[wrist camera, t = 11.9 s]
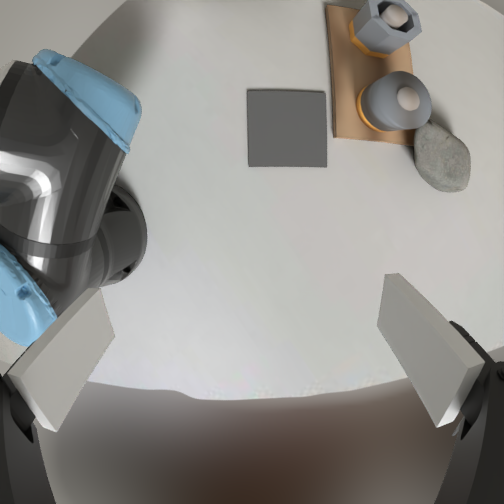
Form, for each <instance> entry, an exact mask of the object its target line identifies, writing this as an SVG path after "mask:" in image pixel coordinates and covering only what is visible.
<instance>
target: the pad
mask: <svg viewBox="0 0 504 504" xmlns="http://www.w3.org/2000/svg"><path fill="white" fill-rule="evenodd" d="M247 99H248V147H249V167H327V118H326V93H316V92H298V91H247Z"/></svg>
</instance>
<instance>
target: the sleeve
mask: <svg viewBox="0 0 504 504" xmlns="http://www.w3.org/2000/svg"><path fill="white" fill-rule="evenodd" d="M390 5H397V6H399V7H401V8H402V9H404V11H405V12H406V13H407V15H408V20H407V21H406V22H405V23H404V24H403V25H401V26H400V27H399V28H397V29H396V30H394V29H391V28H390V27H389V26H388V25H387V24H386V23H385V22H384V21H383V20H382V19H381V18H380V17H379V16H380V15H381V14H382V13H383V12H384V11H385V10H386V9H387V8H388V7H389V6H390ZM349 31H350V40H351V42H352V43H354V44H355V45H356V46H357V47H358V48H359V49H360V50H361V51H362V52H363V53H364V54H365V55H368V56H374V57H379V58H385V57H387V56H388V55H390V54H391V53H393V52H394V51H396V50H397V49H399V48H400V47H402V46H403V45H405V44H407V43H408V42H410V41H411V40H412V39H414V38H415V37H416V36H417V35H418V34H420V33H421V32H422V30H421V25H420V20H419V16H418V13H417V12H416V11H415V10H414V9H413V8H412V7H411V6H410V5H409V4H408V3H407V2H405V1H404V0H368V1H367V2H366V3H365V5H364V6H363V7H362V8H361V10H360V11H359V12H358V13H357V15H356V16H355V17H354V18H353V20H352V21H351V22H350V24H349Z"/></svg>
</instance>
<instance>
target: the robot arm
mask: <svg viewBox="0 0 504 504" xmlns="http://www.w3.org/2000/svg"><path fill="white" fill-rule="evenodd" d="M32 62H33V64H29V63H25V62H21V61H17V60H13V61H11V62H9V63H8V64H6V65H5V66H3V67H2V68H0V332H1V333H2V334H4V335H5V336H6V337H7V338H9V339H10V340H12V341H13V342H15V343H17V344H19V345H22V346H29V347H28V348H27V349H26V352H24V353H23V354H22V355H21V357H19V358H18V359H17V360H16V362H15V363H14V364H13V365H12V366H11V367H10V369H9V370H8V371H7V372H6V373H5V374H4V376H3V377H2V376H1V374H0V504H56V502H55V500H54V496H53V493H52V490H51V487H50V484H49V481H48V477H47V474H46V470H45V466H44V462H43V458H42V454H41V450H40V445H39V440H38V434H37V429H36V427H35V425H34V423H33V420H34V419H35V417H36V418H37V420H38V421H39V422H40V424H41V425H42V426H43V427H44V428H47V429H49V430H52V431H55V432H57V431H58V430H59V427H60V426H61V424H62V422H63V420H64V419H65V417H66V415H67V414H68V412H69V410H70V408H71V407H72V405H73V403H74V401H75V399H76V398H77V396H78V394H79V393H80V391H81V389H82V388H83V386H84V385H85V383H86V381H87V380H88V378H89V376H90V375H91V373H92V372H93V370H94V368H95V367H96V365H97V364H98V362H99V360H100V359H101V357H102V356H103V354H104V353H105V351H106V349H107V348H108V346H109V345H110V343H111V342H112V340H113V339H114V337H115V334H114V331H113V328H112V325H111V322H110V319H109V315H108V312H107V309H106V306H105V302H104V299H103V295H102V292H101V288H99V287H103V286H107V285H111V284H115V283H118V282H120V281H122V280H123V279H125V278H126V277H128V276H129V275H130V274H131V273H132V272H133V271H134V270H135V269H136V268H137V267H138V265H139V264H140V262H141V261H142V259H143V256H144V254H145V250H146V245H147V229H146V224H145V220H144V217H143V214H142V212H141V210H140V208H139V206H138V204H137V203H136V202H135V200H134V199H133V198H132V197H131V196H130V195H129V194H128V193H127V192H126V191H125V190H123V189H122V188H120V187H119V186H117V185H114V183H115V180H116V178H117V175H118V173H119V171H120V168H121V166H122V163H123V161H124V159H125V156H126V154H129V152H130V147H129V146H130V143H131V140H132V138H133V135H134V133H135V130H136V128H137V126H138V123H139V121H140V118H141V114H142V108H141V104H140V101H139V100H138V98H137V97H136V96H135V95H134V94H133V93H132V92H130V91H129V90H128V89H126V88H125V87H123V86H122V85H120V84H119V83H117V82H115V81H114V80H112V79H110V78H109V77H107V76H105V75H104V74H102V73H100V72H98V71H96V70H94V69H93V68H91V67H89V66H87V65H85V64H83V63H81V62H78V61H76V60H74V59H72V58H69V57H66V56H64V55H61V54H58V53H57V52H55V51H51V50H48V49H43V50H41V51H39V53H38V54H37V55H35V56H34V57H33V59H32ZM377 327H378V328H379V330H380V332H381V333H382V335H383V336H384V338H385V339H386V341H387V343H388V344H389V346H390V348H391V349H392V351H393V352H394V354H395V356H396V357H397V359H398V361H399V362H400V364H401V366H402V367H403V369H404V371H405V372H406V374H407V376H408V377H409V379H410V381H411V383H412V384H413V386H414V388H415V389H416V391H417V393H418V395H419V397H420V398H421V400H422V402H423V404H424V405H425V407H426V409H427V411H428V413H429V415H430V416H431V418H432V420H433V422H434V424H435V426H436V427H439V426H442V425H445V424H447V423H449V422H452V421H454V419H455V417H456V416H457V414H458V412H459V411H460V410H461V412H462V413H463V415H464V417H463V419H462V420H461V422H460V423H459V425H458V426H457V428H456V429H455V431H454V432H453V434H452V436H455V435H456V433H457V432H458V435H457V439H456V442H455V446H454V450H453V453H452V456H451V459H450V463H449V466H448V469H447V472H446V475H445V477H444V480H443V483H442V485H441V488H440V491H439V493H438V496H437V498H436V500H435V503H434V504H504V362H501V361H500V362H497V363H495V362H494V361H493V360H492V358H491V357H490V356H489V355H488V354H487V353H486V352H485V350H484V349H483V348H482V347H481V346H480V345H479V344H478V343H477V342H475V340H474V339H473V338H472V337H471V336H469V333H468V332H467V331H466V330H465V329H464V328H463V327H462V326H460V325H458V324H456V323H455V322H453V321H449V322H448V321H447V320H446V319H445V318H444V316H443V315H442V314H441V313H440V312H439V311H438V310H437V309H436V308H435V307H434V306H433V305H432V304H431V303H430V302H429V301H428V300H427V299H426V298H425V297H424V296H423V295H422V294H420V293H419V292H418V291H417V290H416V289H415V288H414V287H413V286H412V285H411V284H410V283H409V282H408V281H407V280H406V279H405V278H404V277H403V276H402V275H400V274H399V273H396V274H385V277H384V285H383V292H382V299H381V305H380V311H379V317H378V322H377Z"/></svg>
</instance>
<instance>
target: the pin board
mask: <svg viewBox="0 0 504 504" xmlns="http://www.w3.org/2000/svg"><path fill="white" fill-rule="evenodd" d="M359 11H360V10H357V9H352V8H346V7H340V6H333V5H327V6H326V8H325V12H326V21H327V30H328V40H329V51H330V64H331V79H332V99H333V137H334V138H344V139H357V140H367V141H377V142H385V143H393V144H401V145H408V146H414V135H415V130H416V128H419V127H421V126H423V125H424V124H425V123H426V122H427V121H428V119H429V117H430V115H431V109H432V104H431V98H430V95H429V93H428V90H427V89H426V87H425V86H424V84H423V83H422V82H421V81H420V80H419V79H418V78H417V77H416V76H414V75H413V68H412V60H411V53H410V46H409V42H408V43H407V44H405V45H403V46H402V47H400V48H399V49H397V50H396V51H394V52H393V53H391V54H390V55H388V56H387V57H385V58H379V57H374V56H368V55H365V54H364V53H363V52H362V51H361V50H360V49H359V48H358V47H357V46H356V45H355V44H354V43H352V42H351V40H350V31H349V24H350V22H351V21H352V20H353V18H354V17H355V16H356V15H357V13H358V12H359ZM379 17H380V18H381V19H382V20H383V21H384V22H385V23H386V24H387V25H388V26H389V27H390V28H391V29H394V30H396V29H397V28H399V27H400V26H401V25H403V24H404V23H405V22H406V21H407V20H408V15H407V13H406V12H405V11H404V9H402V8H401V7H399V6H397V5H390V6H389V7H388V8H387V9H386V10H385V11H384V12H383V13H382V14H381V15H380V16H379Z"/></svg>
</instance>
